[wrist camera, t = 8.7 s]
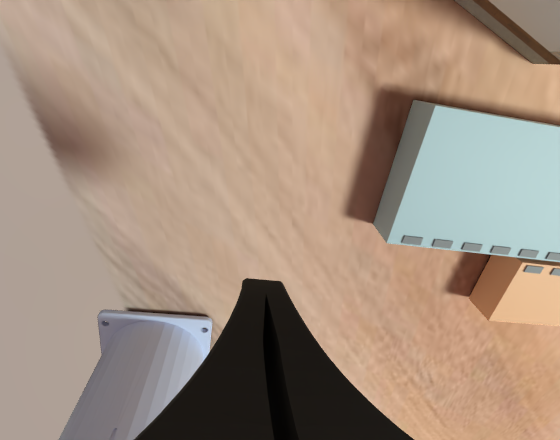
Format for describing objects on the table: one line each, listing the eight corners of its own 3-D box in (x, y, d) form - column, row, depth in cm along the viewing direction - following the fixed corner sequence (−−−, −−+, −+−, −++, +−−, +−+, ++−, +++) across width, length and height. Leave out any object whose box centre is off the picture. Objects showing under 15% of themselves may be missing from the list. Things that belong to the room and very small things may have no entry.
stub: (578, 308, 27) (608, 330, 24) (468, 298, 25) (489, 321, 23) (615, 257, 24) (651, 277, 22) (497, 243, 23) (523, 263, 21)
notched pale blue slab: (541, 244, 24) (573, 264, 21) (373, 224, 22) (387, 243, 19) (607, 133, 20) (653, 143, 18) (413, 99, 18) (436, 105, 16)
